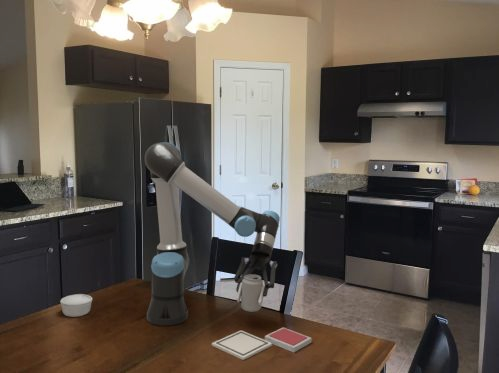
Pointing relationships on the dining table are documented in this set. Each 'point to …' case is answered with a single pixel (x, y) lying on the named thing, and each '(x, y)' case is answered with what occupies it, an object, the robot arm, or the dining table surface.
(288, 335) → the ink pad
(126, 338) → the dining table surface
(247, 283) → the can
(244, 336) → the marked board
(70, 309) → the ramekin
